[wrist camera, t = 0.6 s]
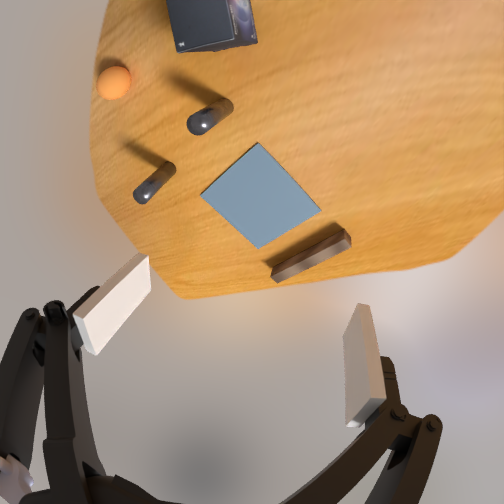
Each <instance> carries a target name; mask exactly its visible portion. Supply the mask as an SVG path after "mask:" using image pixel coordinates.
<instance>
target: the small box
mask: <svg viewBox="0 0 504 504" xmlns="http://www.w3.org/2000/svg"><path fill="white" fill-rule="evenodd" d="M166 2H167V7H168V12H169V17H170V22H171V27H172V32H173V37H174V42H175V46H176V51H177V53H184V52H204V51H213V52H216V51H220V50H225V49H228V48H234V47H239V46H247V45H252V44H257V43H258V41H257V35H256V29H255V24H254V18H253V13H252V8H251V2H250V0H166Z"/></svg>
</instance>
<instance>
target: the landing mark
mask: <svg viewBox="0 0 504 504" xmlns="http://www.w3.org/2000/svg"><path fill="white" fill-rule="evenodd" d="M200 196H201V197H202V198H203V199H204V200H205V201H206V202H207V203H209V204H210V205H211V206H212V207H213V208H214V209H215V210H216V211H217V212H218V213H219V214H221V215H222V216H223V217H224V218H225V219H226V220H227V221H228V222H229V223H230V224H231V225H233V226H234V227H235V228H236V229H237V230H238V231H239V232H240V233H241V234H242V235H243V236H244V237H246V238H247V239H248V240H249V241H250V242H251V243H252V244H253V245H254V246H255V247H256V248H258V249H259V248H261V247H262V246H264V245H266V244H267V243H269V242H271V241H272V240H274V239H276V238H277V237H279V236H281V235H282V234H284V233H286V232H287V231H289V230H291V229H292V228H294V227H296V226H297V225H299V224H301V223H302V222H304V221H306V220H307V219H309V218H310V217H312V216H314V215H315V214H317V213H319V212H320V211H321V209H320V208H319V207H318V206H317V205H316V204H315V203H314V201H313V200H312V199H311V198H310V197H309V196H308V195H307V194H306V192H305V191H304V190H303V189H302V188H301V187H300V186H299V185H298V184H297V182H296V181H295V180H294V179H293V178H292V177H291V176H290V175H289V174H288V173H287V172H286V171H285V170H284V168H283V167H282V166H281V165H280V164H279V163H278V162H277V161H276V160H275V159H274V158H273V157H272V156H271V155H270V154H269V153H268V152H267V151H266V150H265V149H264V148H263V147H262V146H261V145H260V144H259V143H258V144H256V145H255V146H254V147H253V148H252V149H251V150H249V151H248V152H247V153H246V154H245V155H244V156H243V157H241V158H240V159H239V160H238V161H237V162H236V163H235V164H234V165H232V166H231V167H230V168H229V169H228V170H227V171H226V172H225V173H224V174H223V175H222V176H220V177H219V178H218V179H217V180H216V181H215V182H214V183H213V184H212V185H211V186H210V187H209V188H208V189H207V190H206V191H204V192H203V193H202V194H201V195H200Z"/></svg>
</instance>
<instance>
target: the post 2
mask: <svg viewBox="0 0 504 504" xmlns="http://www.w3.org/2000/svg"><path fill="white" fill-rule="evenodd" d="M233 109H234V107H233V104H232V102H231V101H230V100H228V99H220V100H218V101H216V102H214V103H213V104H211V105H209V106H207V107H205V108H203V109H201V110H200V111H198V112H196V113H194V114H193V115H191V116H190V117H189V118H188V120H187V128H188V130H189V131H190V132H191V133H192V134H194V135H203V134H204V133H206V132H207V131H208V130H210V129H211V128H212V127H214V126H215V125H216V124H218V123H219V122H220V121H222V120H223V119H224V118H226V117H227V116H228V115H230V114H231V113H232V112H233Z"/></svg>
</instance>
